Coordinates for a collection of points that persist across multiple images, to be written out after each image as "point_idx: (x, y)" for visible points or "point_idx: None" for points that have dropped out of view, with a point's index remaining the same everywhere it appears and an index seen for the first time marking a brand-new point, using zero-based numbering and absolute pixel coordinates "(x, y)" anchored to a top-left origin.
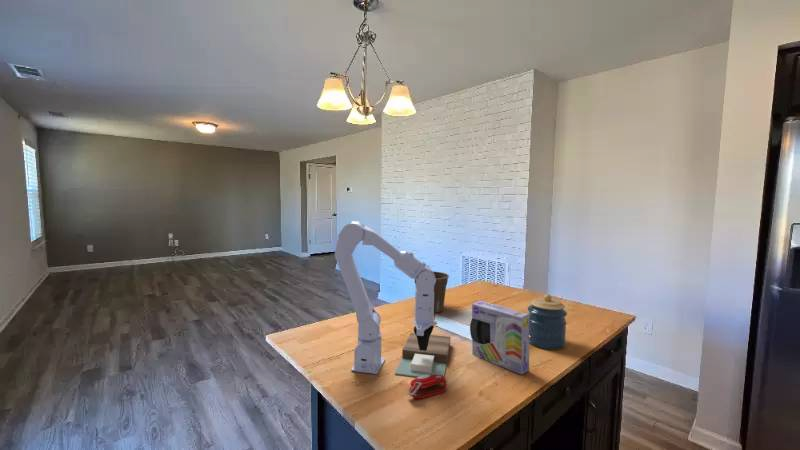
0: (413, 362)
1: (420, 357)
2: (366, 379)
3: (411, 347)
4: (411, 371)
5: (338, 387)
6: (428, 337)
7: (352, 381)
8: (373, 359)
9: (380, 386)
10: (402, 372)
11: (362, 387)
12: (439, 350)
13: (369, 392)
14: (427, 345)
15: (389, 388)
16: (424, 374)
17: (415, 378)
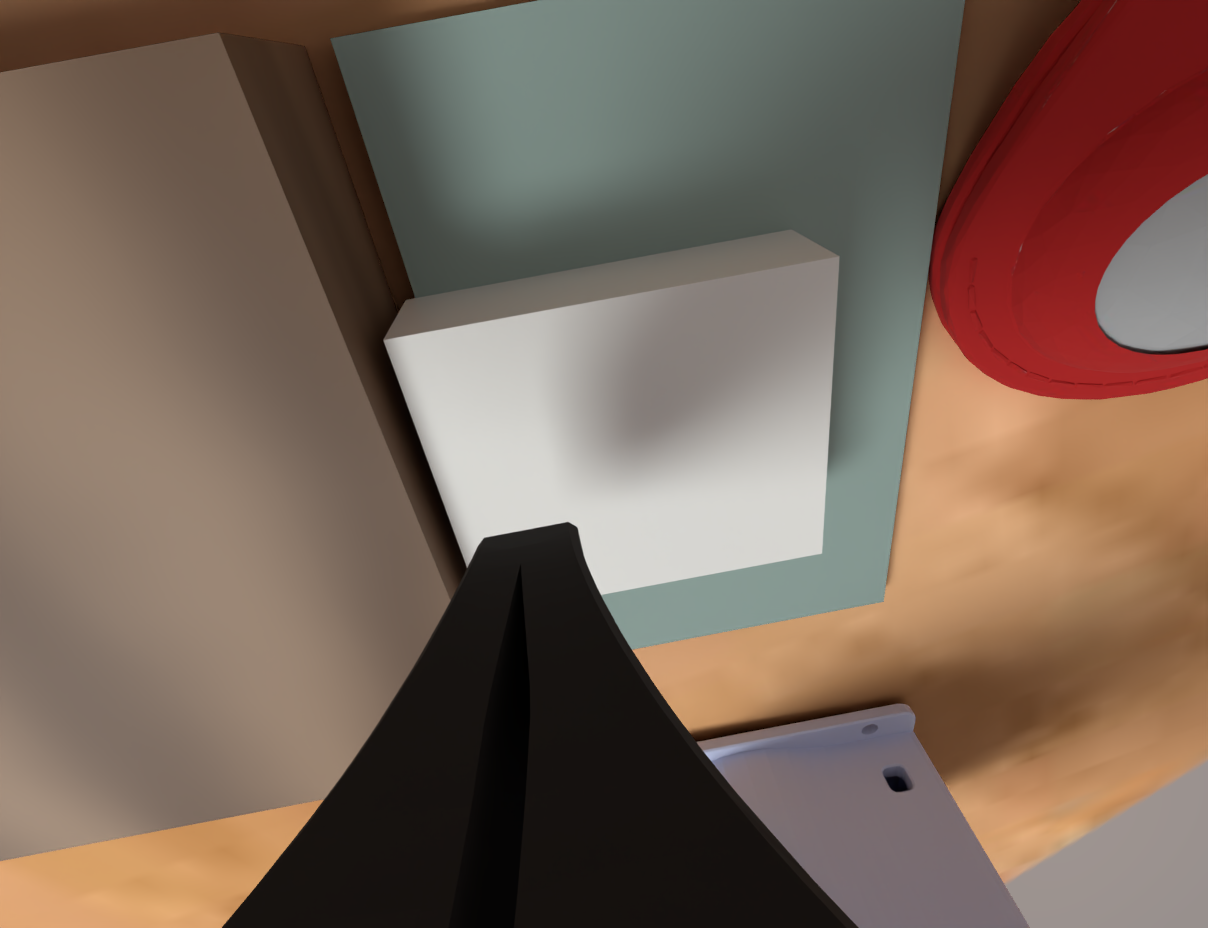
0: (770, 541)
1: (577, 516)
2: (988, 715)
3: (379, 716)
4: None
5: (1102, 781)
6: (763, 836)
7: (1022, 762)
8: (990, 861)
9: (1101, 602)
10: (855, 551)
11: (1110, 688)
12: (129, 300)
13: (1190, 626)
14: (587, 589)
15: (1141, 532)
16: (1090, 279)
17: (1157, 366)
